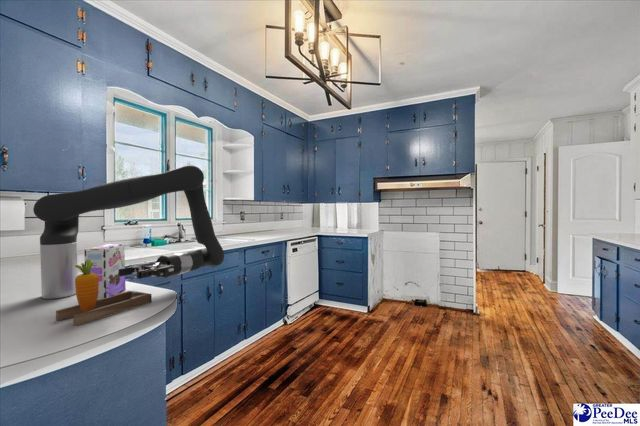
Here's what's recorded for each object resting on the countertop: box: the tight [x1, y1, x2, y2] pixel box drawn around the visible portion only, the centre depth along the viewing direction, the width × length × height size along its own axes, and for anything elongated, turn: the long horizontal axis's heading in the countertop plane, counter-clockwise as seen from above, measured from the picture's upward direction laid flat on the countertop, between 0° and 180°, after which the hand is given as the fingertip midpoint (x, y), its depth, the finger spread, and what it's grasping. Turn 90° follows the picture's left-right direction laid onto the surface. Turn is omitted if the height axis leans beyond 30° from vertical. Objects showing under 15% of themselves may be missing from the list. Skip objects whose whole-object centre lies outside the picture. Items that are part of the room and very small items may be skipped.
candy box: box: [84, 243, 127, 300], centre depth 101 cm, size 14×6×16 cm, turn 9°
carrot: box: [75, 259, 99, 312], centre depth 81 cm, size 5×5×15 cm
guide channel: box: [55, 290, 153, 327], centre depth 86 cm, size 9×20×3 cm, turn 155°
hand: (128, 274), depth 91 cm, fingers open, 8 cm apart
